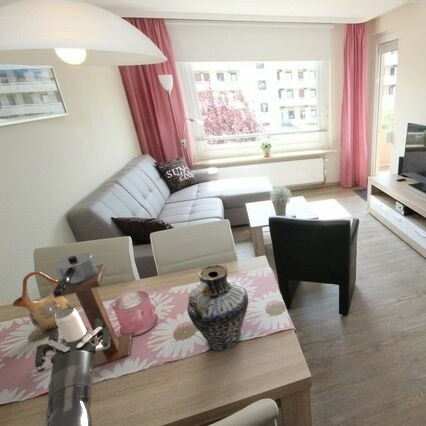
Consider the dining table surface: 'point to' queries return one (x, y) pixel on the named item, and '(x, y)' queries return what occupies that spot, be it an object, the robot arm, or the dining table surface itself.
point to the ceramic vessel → (42, 305)
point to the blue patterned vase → (218, 307)
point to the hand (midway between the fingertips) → (77, 325)
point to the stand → (99, 317)
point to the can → (70, 324)
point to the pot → (74, 271)
